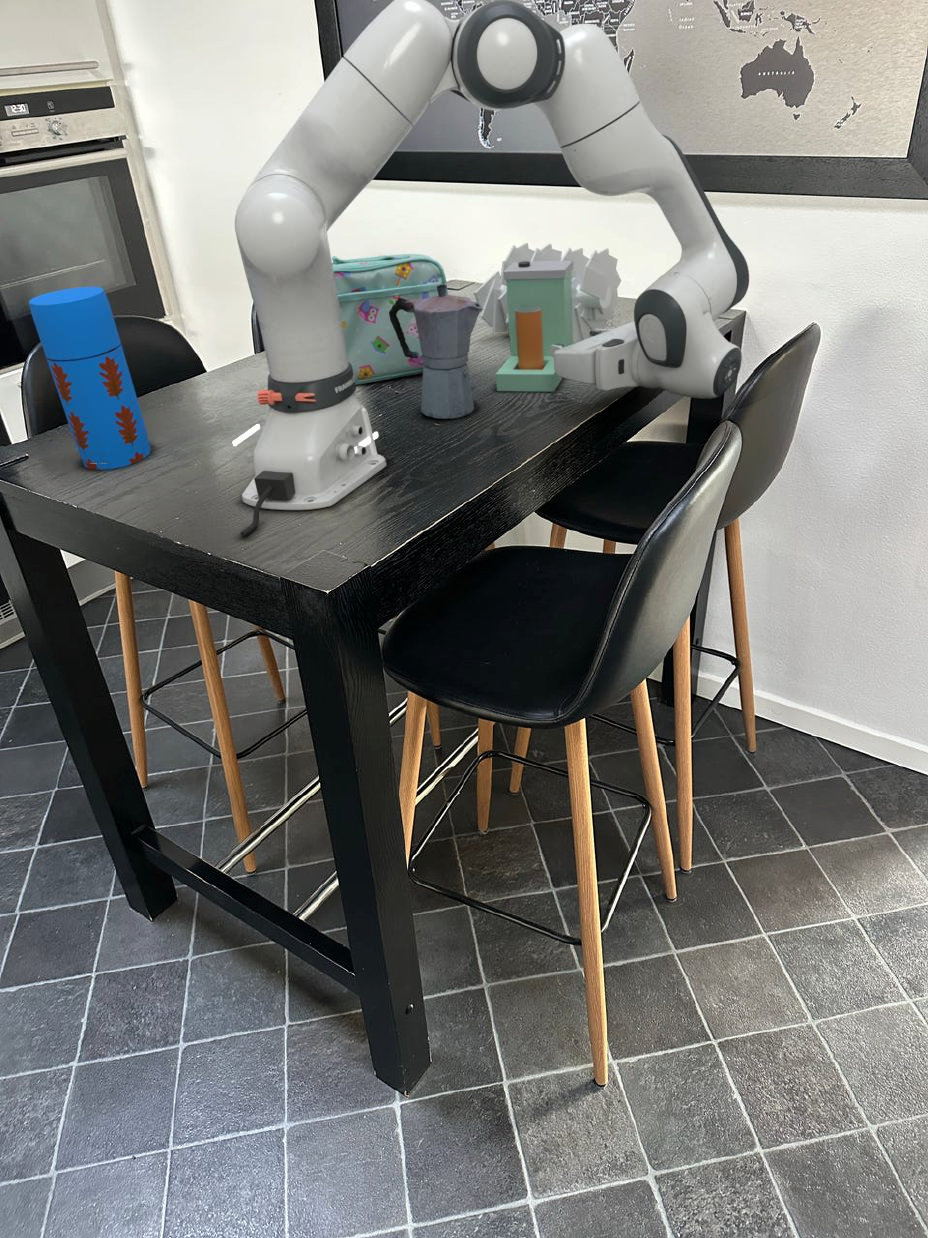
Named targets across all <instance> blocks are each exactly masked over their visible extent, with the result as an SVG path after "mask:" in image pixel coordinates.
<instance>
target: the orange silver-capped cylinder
mask: <svg viewBox="0 0 928 1238" xmlns="http://www.w3.org/2000/svg"><path fill="white" fill-rule="evenodd" d="M515 318H516V335H517V352H518V369H519V370H543V368H544V355H543V332H542V309H541V306H538V305H524V306H520V307H517V308H516V309H515Z"/></svg>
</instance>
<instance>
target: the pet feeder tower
mask: <svg viewBox="0 0 928 1238" xmlns="http://www.w3.org/2000/svg"><path fill="white" fill-rule="evenodd" d="M572 269H573V260H571V261H539V262H528V261H524V262H514V263H512V264H511V265H510V266H509V267H508V268H507V269H506V270H505V271H504V280H506V285H507V301H508V317H509V333H510V336H509V347H510V348H509V349H510V356H518V352H517V335H516V318H515V309H516V308H517V307H520V306H524V305H538V306H541V309H542V332H543V355H544V356H551V355H550V346H551V345H554V344H556V343H559V344H564V347H567V346H569V345H572V344H574V343H573V319H572V280H571V271H572Z"/></svg>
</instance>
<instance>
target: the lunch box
mask: <svg viewBox="0 0 928 1238" xmlns="http://www.w3.org/2000/svg"><path fill="white" fill-rule="evenodd" d="M331 260H332V266H333V272H334V278H335V284H336V290H337V296H338V301H339V306H340V313H341V319H342V325H343V331H344V338H345V344H346V350H347V357H348V362H349V363H350V364H351V365H352V369H353V373H354V375H355V386H356V385H363V384H370V383H376V382H381V381H387V380H388V381H389V380H392V379H398V378H403V377H409V376H414V375H419V374H423V367H424V364H423V358H422V351H421V346H420V341H419V335H418V330H417V325H416V319H415V315H414V313H409V312H405V311H404V310H399V311H398V312H397V318H398V319H399V322H400V326H401V328H402V331H403V333H404V337H405V340H406V341H405V342H406V343H407V345H408V347H409V350H410V351H411V352H417V353H418V354H419V356H418V358H417V359H416V358H410V357H406V356H405V355H404V352H403V350H402V347H401V345H400V341H399V340H398V337H397V335H396V332H395V330H394V328H393V325H392V323H391V321H390V316H389V311H390V310H391V309H392V306H393V305H395V302H396V301H397V300H398V298H403V299H407V300H410V299H417V300H422V299H425V298H427V297H432V296H438V291H437V286H438V285H446V286H447V287H448V284H447V277H446V274H445V271H444V268H443V266H442V264H441V263H440V262H438V261H437V260H435V259H434V258H432V257H431V256H428V255H426V254H421V253H403V254H402V253H401V254H389V255H388V254H387V255H377V256H372V257H371V256H370V257H361V258H360V257H359V258H350V259H341V258H338V257H337V256H331ZM446 295H449V291H448V288H447V289H446Z"/></svg>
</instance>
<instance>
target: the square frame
mask: <svg viewBox="0 0 928 1238" xmlns="http://www.w3.org/2000/svg"><path fill="white" fill-rule="evenodd" d="M562 380H563V378H562V377H560V376H558V375H557V374H556V373H555V370H554V357H552V356H544V368H543V370H519V369H518V356H511V355H510V356H509V357H508V358H507V360H505V362H504V363H503V364H502V365H501V367H500V368H499V369H498V370H497V371H496V373H495V385H496V387H495V388H496V392H539V393H540V392H542V393H544V392H545V393H546V392H549V393H551V392H553V393H554V392H555V391H556V389H557V387H558V386H559V385H560V383H561V381H562Z"/></svg>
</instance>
